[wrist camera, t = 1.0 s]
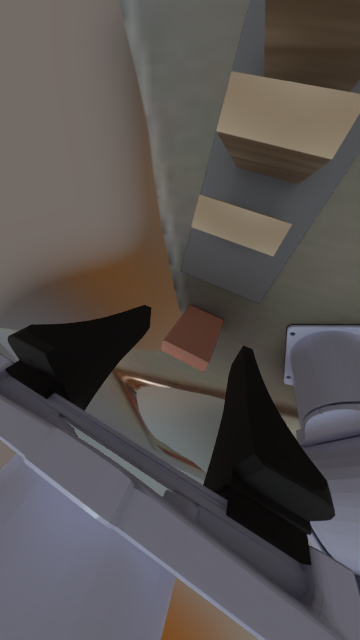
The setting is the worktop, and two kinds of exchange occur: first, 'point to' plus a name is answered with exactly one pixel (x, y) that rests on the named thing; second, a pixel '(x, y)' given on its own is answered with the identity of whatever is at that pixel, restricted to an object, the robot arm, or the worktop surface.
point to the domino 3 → (240, 225)
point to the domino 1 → (313, 42)
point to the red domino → (193, 338)
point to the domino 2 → (284, 125)
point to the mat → (260, 194)
